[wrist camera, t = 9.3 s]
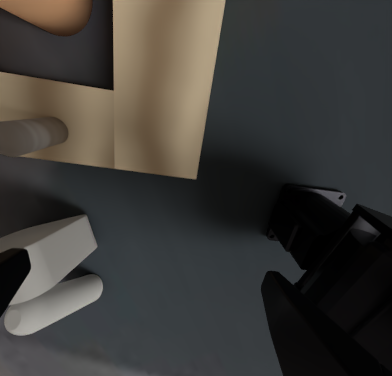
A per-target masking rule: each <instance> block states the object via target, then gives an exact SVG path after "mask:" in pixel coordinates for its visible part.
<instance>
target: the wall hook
mask: <svg viewBox="0 0 392 376" xmlns="http://www.w3.org/2000/svg"><path fill="white" fill-rule="evenodd" d="M11 248H24V249H26V250H27V251H28V254H29V258H30V262H31V270H30V272H29V274H28V276H27V277H26V279H25V280H24V282H23V283H22V285H21V287H20V288H19V290H18V291H17V293H16V294H15V296H14V297H13V299H12V301H11V302H10V304H9V305H11V306H10V308H9V309H8V311H7V313H6V315H5V319H4V324H5V328H6V329H7V330H8V331H9V332H10V333H12V334H14V335H28V334H31V333H34V332H36V331H38V330H40V329H42V328H44V327H46V326H48V325H50V324H52V323H54V322H56V321H57V320H59V319H61V318H63V317H65V316H67V315H69V314H71V313H73V312H75V311H77V310H78V309H80V308H82V307H84V306H86V305H88V304H90V303H92V302H94V301H96V300H97V299H98V298H99V297H100V295H101V293H102V290H103V284H102V281H101V279H100V277H98V276H97V275H95V274H89V275H86V276H82V277H79V278H76V279H72V280H69V281H66V282H62V283H59V284H57V283H58V282H59V281H60V280H62V279H63V278H64V277H65V276H66V275H67V274H68V273H69V272H70V271H72V270H73V269H74V268H75V267H76V266H77V265H78V264H79V263H80V262H82V261H83V260H84V259H85V258H86V257H87V256H88V255H89V254H90V253H92V252H93V251H94V250H95V249H96V248H97V243H96V240H95V237H94V235H93V232H92V229H91V226H90V223H89V220H88V218H87V215H79V216H75V217H70V218H66V219H62V220H58V221H54V222H50V223H46V224H41V225H37V226H33V227H29V228H26V229H23V230H20V231H17V232H14V233H11V234H9V235H6V236H4V237H2V238H0V253H1V252H3V251H6V250H8V249H11Z"/></svg>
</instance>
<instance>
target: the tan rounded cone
mask: <svg viewBox="0 0 392 376" xmlns="http://www.w3.org/2000/svg"><path fill="white" fill-rule="evenodd" d="M0 8H2V9H4V10H6V11H8V12H10V13H12V14H14V15H16V16H18V17H20V18H22V19H24V20H26V21H27V22H29V23H31V24H33V25H35V26H37V27H39V28H41V29H43V30H45V31H47V32H49V33H51V34H54V35H58V36H71V35H74V34H76V33H78V32H80V31H81V30H82V29H83V28H84V27H85V25H86V24H87V22H88V21H89V18H90V15H91V11H92V0H0Z"/></svg>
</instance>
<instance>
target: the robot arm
mask: <svg viewBox="0 0 392 376" xmlns="http://www.w3.org/2000/svg"><path fill="white" fill-rule="evenodd" d="M288 188H290V189H289V191H286V190H287V189H288ZM340 195H341V196H340ZM339 196H340V197H339ZM338 197H339V198H338ZM345 198H346V194H345V193H343V192H341V191H335V190H327V189H320V188H312V187H305V186H298V185H290V184H287V185H285V186H283V188H282V191H281V194H280V196H279V199H278V202H277V204H276V205H275V207H274V210H273V213H272V216H271V219H270V221H269V228H268V230H267V233H266V236H267V238H268V239H269V240H273V241H280V243H281V244H282V246H283V247H284V249H285V250H286V251H287V252H290V253H291V255H292V256H293V258H294V259H295V261H296V262H297V264H298V265H299V267H300V268H301V269H303V270H307V271H306V272H305V273H304V274H303V276H302V277H301V278H300V280H299V281H298V282H296V283H295V284H294V285H293V284H291V283H290V282H289V281H288V280H287V279H286V278H285V277H284V276H282V275H281V274H280V273H279V272H277V271H267V273H266V275H265V277H264V280H263V282H262V285H261V293H262V297H263V302H264V307H265V311H266V316H267V321H268V326H269V330H270V334H271V338H272V341H273V344H274V348H275V351H276V354H277V357H278V361H279V364H280V367H281V370H282V373H283V376H392V217H391V216H388V215H386V214H383V213H380V212H378V211H375V210H373V209H370V208H367V207H365V206H362V205H359V204H356V205H355V207H354V208H353V209H352V210H353V212H352V213H351V214H350V213H349V212H347V211H346V210H344V209H343V208H341V206H342V204H343V202H344V200H345ZM270 235H272V236H270ZM30 270H31V262H30V258H29V254H28V251H27V250H26V249H24V248H11V249H8V250H6V251H3V252H1V253H0V317H1V316H2V314H3V313H4V311H5V310H6V308H7V307H8V305H9V304H10V302H11V301H12V299H13V297H14V296H15V294H16V293H17V291H18V290H19V288H20V287H21V285H22V283H23V282H24V280H25V279H26V277H27V276H28V274H29V272H30Z"/></svg>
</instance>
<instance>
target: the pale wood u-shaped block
mask: <svg viewBox="0 0 392 376" xmlns="http://www.w3.org/2000/svg"><path fill="white" fill-rule="evenodd" d="M224 6H225V0H113V54H114V91H112V90H106V89H100V88H94V87H88V86H82V85H76V84H70V83H64V82H58V81H52V80H46V79H40V78H34V77H28V76H22V75H16V74H10V73H4V72H0V154H2V155H5V156H8V157H18V156H21V157H29V158H37V159H44V160H52V161H59V162H67V163H75V164H82V165H90V166H97V167H105V168H113V169H120V170H128V171H135V172H143V173H151V174H158V175H166V176H173V177H181V178H189V179H196V177H197V171H198V165H199V159H200V153H201V147H202V140H203V134H204V128H205V122H206V116H207V110H208V104H209V98H210V92H211V85H212V79H213V73H214V67H215V61H216V55H217V49H218V43H219V37H220V30H221V24H222V18H223V12H224Z"/></svg>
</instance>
